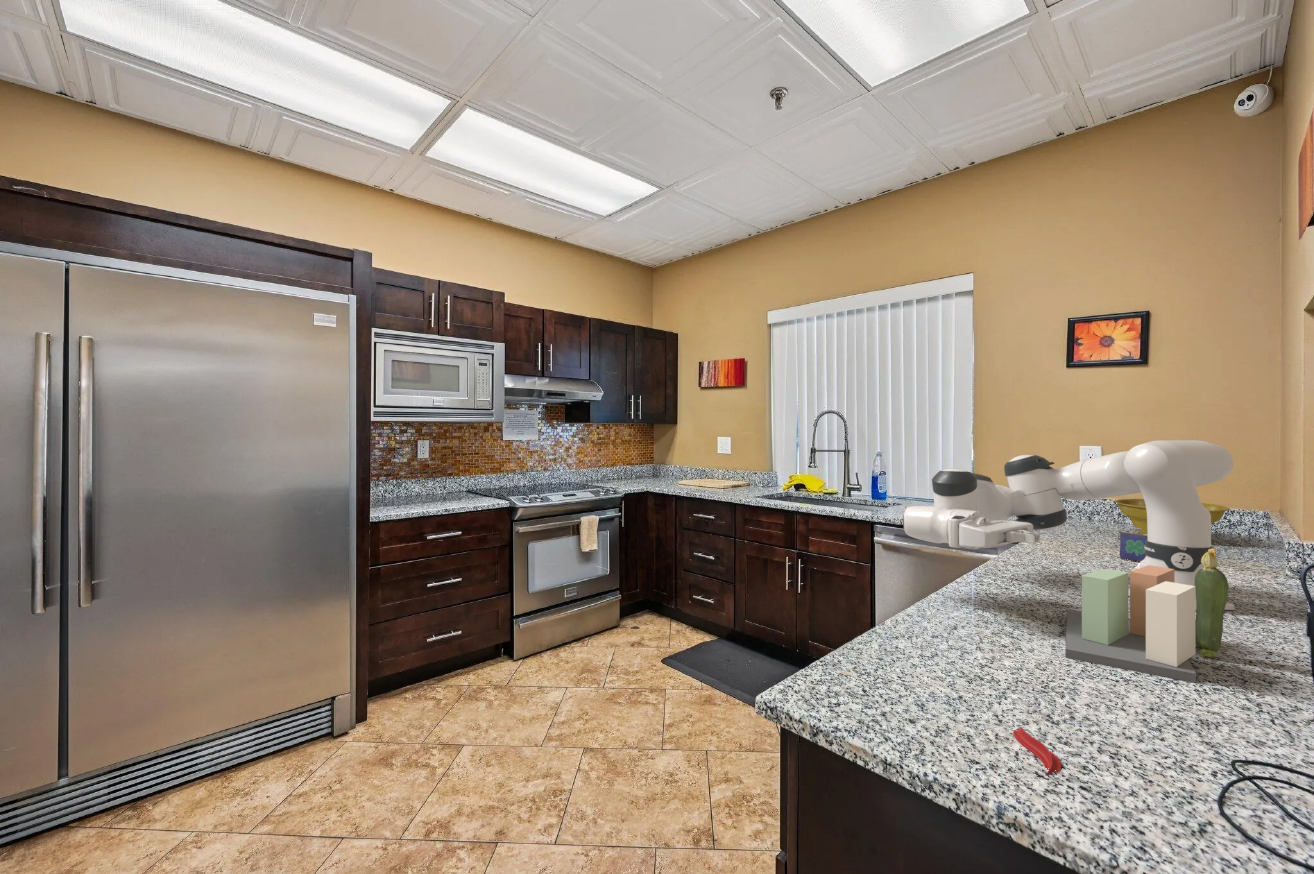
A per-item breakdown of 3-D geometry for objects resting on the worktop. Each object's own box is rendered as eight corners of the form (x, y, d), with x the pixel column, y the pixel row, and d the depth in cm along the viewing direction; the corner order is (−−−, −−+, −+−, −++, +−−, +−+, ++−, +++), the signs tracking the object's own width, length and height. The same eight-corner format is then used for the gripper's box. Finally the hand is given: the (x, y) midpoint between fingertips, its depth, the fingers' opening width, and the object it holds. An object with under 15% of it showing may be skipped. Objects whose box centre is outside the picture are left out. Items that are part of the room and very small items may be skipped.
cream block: (1145, 658, 94) (1145, 589, 94) (1165, 646, 100) (1165, 581, 100) (1176, 666, 91) (1176, 595, 91) (1195, 653, 96) (1195, 586, 96)
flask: (1157, 564, 169) (1157, 529, 169) (1152, 565, 168) (1152, 530, 168) (1122, 558, 177) (1122, 525, 177) (1117, 559, 176) (1117, 525, 176)
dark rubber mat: (1067, 616, 121) (1067, 609, 121) (1171, 632, 111) (1171, 625, 111) (1065, 657, 99) (1065, 648, 99) (1195, 682, 89) (1195, 673, 89)
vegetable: (1192, 650, 102) (1192, 543, 102) (1226, 656, 99) (1226, 546, 99) (1196, 657, 98) (1196, 547, 98) (1230, 664, 96) (1230, 550, 96)
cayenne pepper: (1066, 785, 64) (1066, 769, 64) (1019, 773, 66) (1019, 758, 66) (1051, 736, 74) (1051, 722, 74) (1011, 727, 76) (1011, 713, 76)
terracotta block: (1130, 633, 106) (1130, 571, 106) (1148, 623, 112) (1148, 565, 112) (1156, 639, 103) (1156, 576, 103) (1174, 629, 108) (1174, 569, 108)
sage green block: (1081, 638, 104) (1081, 575, 104) (1103, 628, 109) (1103, 568, 109) (1107, 645, 100) (1107, 580, 100) (1128, 634, 106) (1128, 572, 106)
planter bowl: (1228, 551, 187) (1228, 512, 187) (1107, 538, 211) (1107, 503, 211) (1230, 538, 209) (1230, 503, 209) (1121, 528, 233) (1121, 496, 233)
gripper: (993, 538, 132) (1059, 548, 120) (945, 547, 121) (1013, 559, 109) (992, 512, 132) (1059, 519, 120) (945, 519, 121) (1013, 528, 109)
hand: (1037, 538), depth 114 cm, fingers closed
